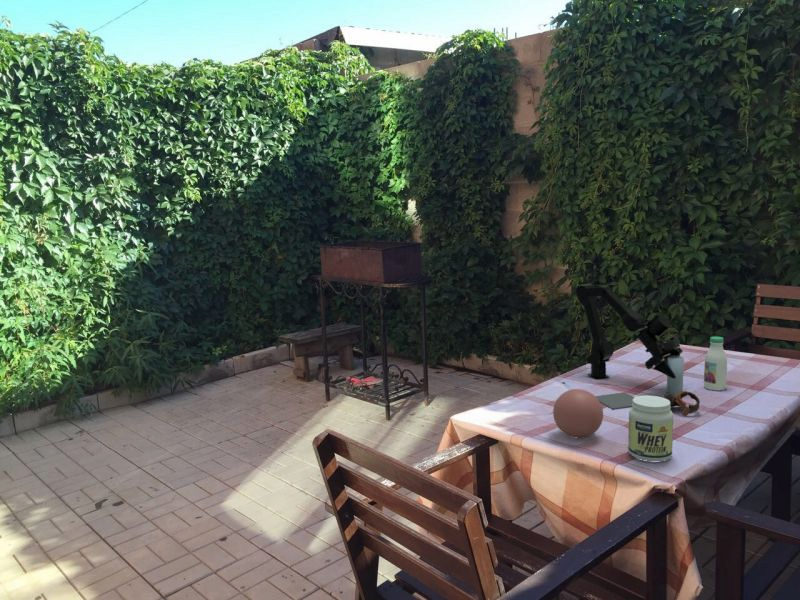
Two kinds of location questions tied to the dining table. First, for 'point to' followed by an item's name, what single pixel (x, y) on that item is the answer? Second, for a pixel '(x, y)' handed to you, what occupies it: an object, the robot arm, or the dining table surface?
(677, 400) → the brown black curved piece
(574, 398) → the brown rubber ball
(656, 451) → the supplement tub
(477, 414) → the dining table surface
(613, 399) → the coaster mat
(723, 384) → the milk bottle
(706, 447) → the dining table surface
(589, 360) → the robot arm
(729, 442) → the dining table surface
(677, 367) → the tumbler
